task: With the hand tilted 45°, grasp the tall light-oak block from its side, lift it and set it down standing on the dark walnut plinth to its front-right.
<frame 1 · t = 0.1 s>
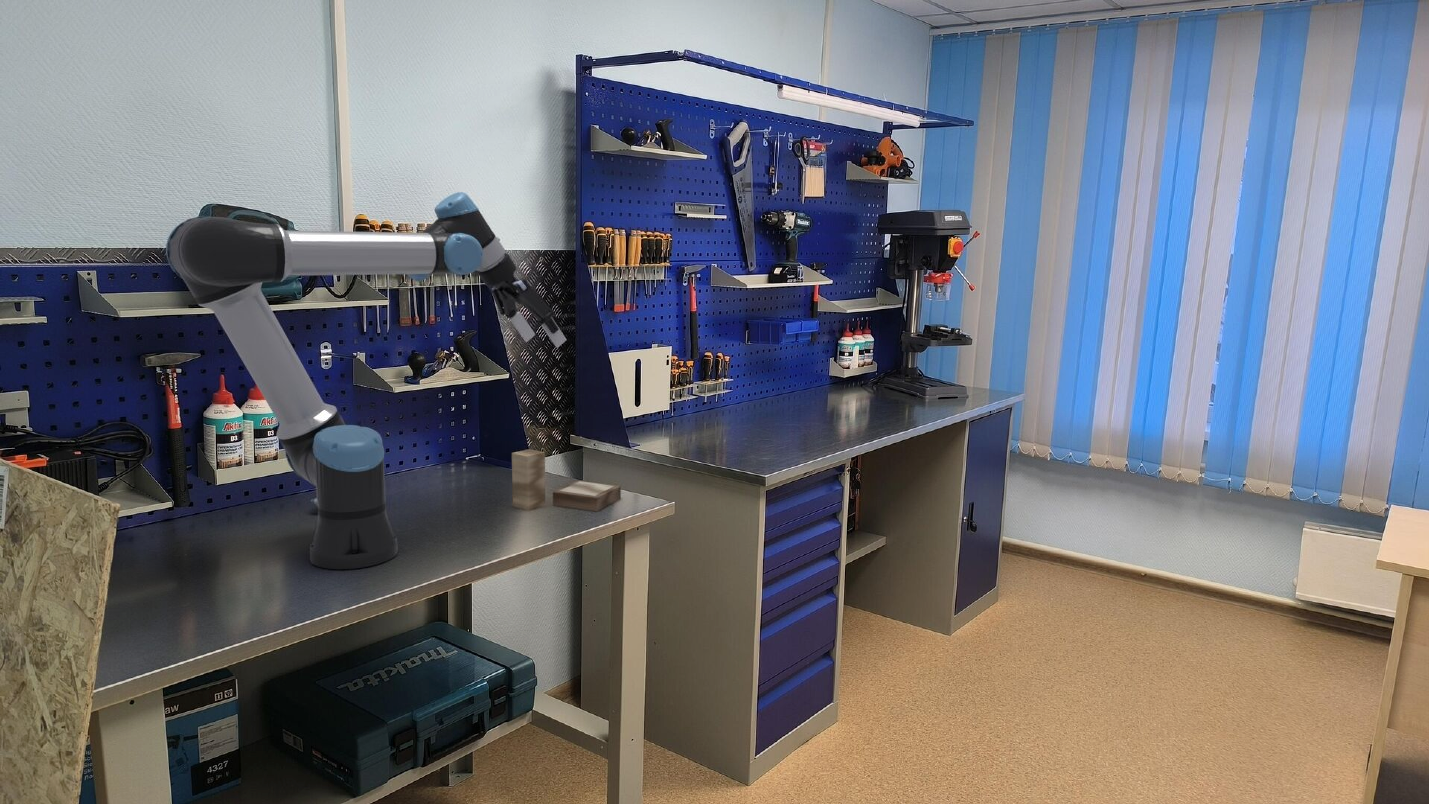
hand: (545, 340, 206), 36 cm above the workbench, tool tilted 35°, fingers open, 13 cm apart
oak block: (529, 505, 206), on the workbench
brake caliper: (341, 509, 202), on the workbench
plinth: (587, 502, 210), on the workbench
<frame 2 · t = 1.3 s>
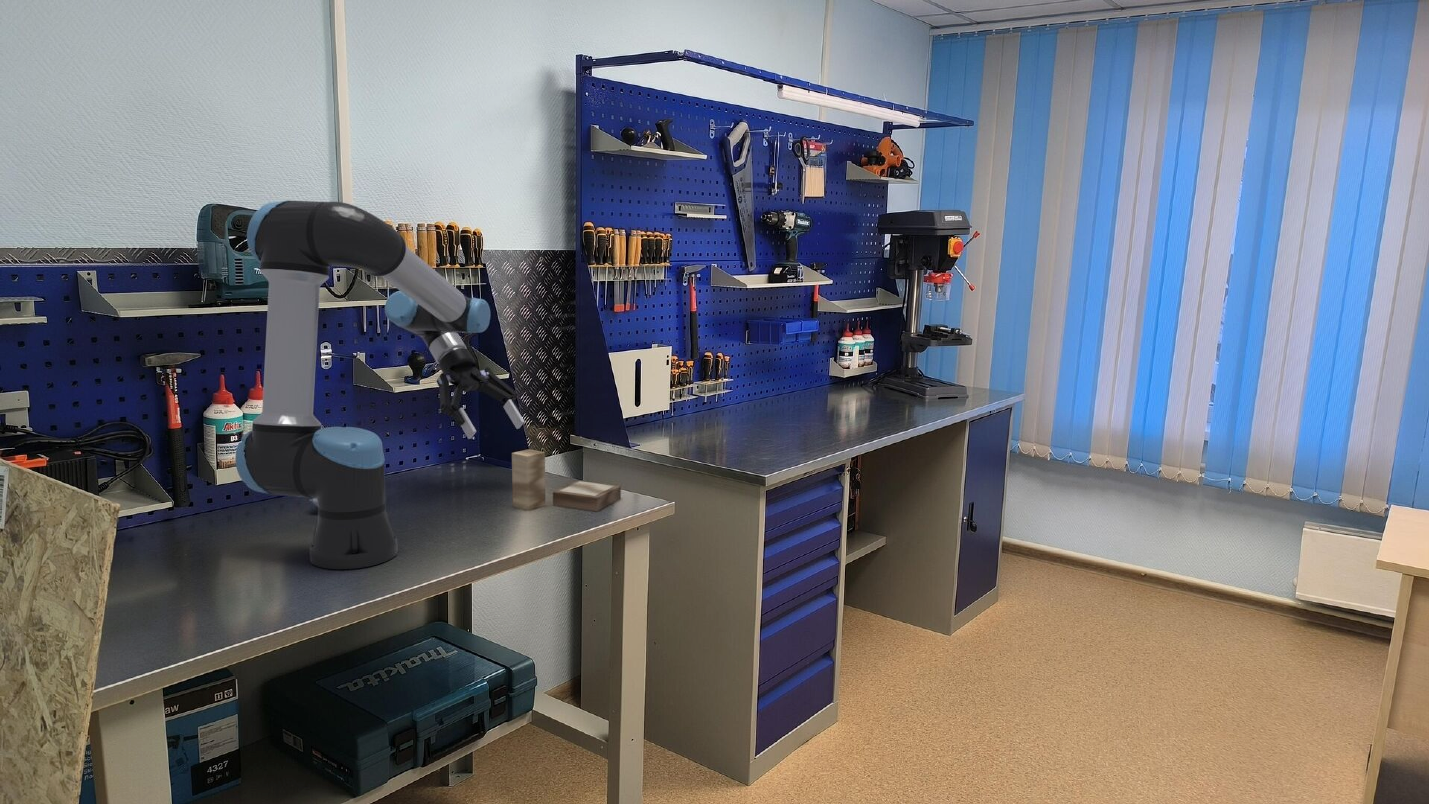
hand: (497, 430, 210), 16 cm above the workbench, tool tilted 45°, fingers open, 13 cm apart
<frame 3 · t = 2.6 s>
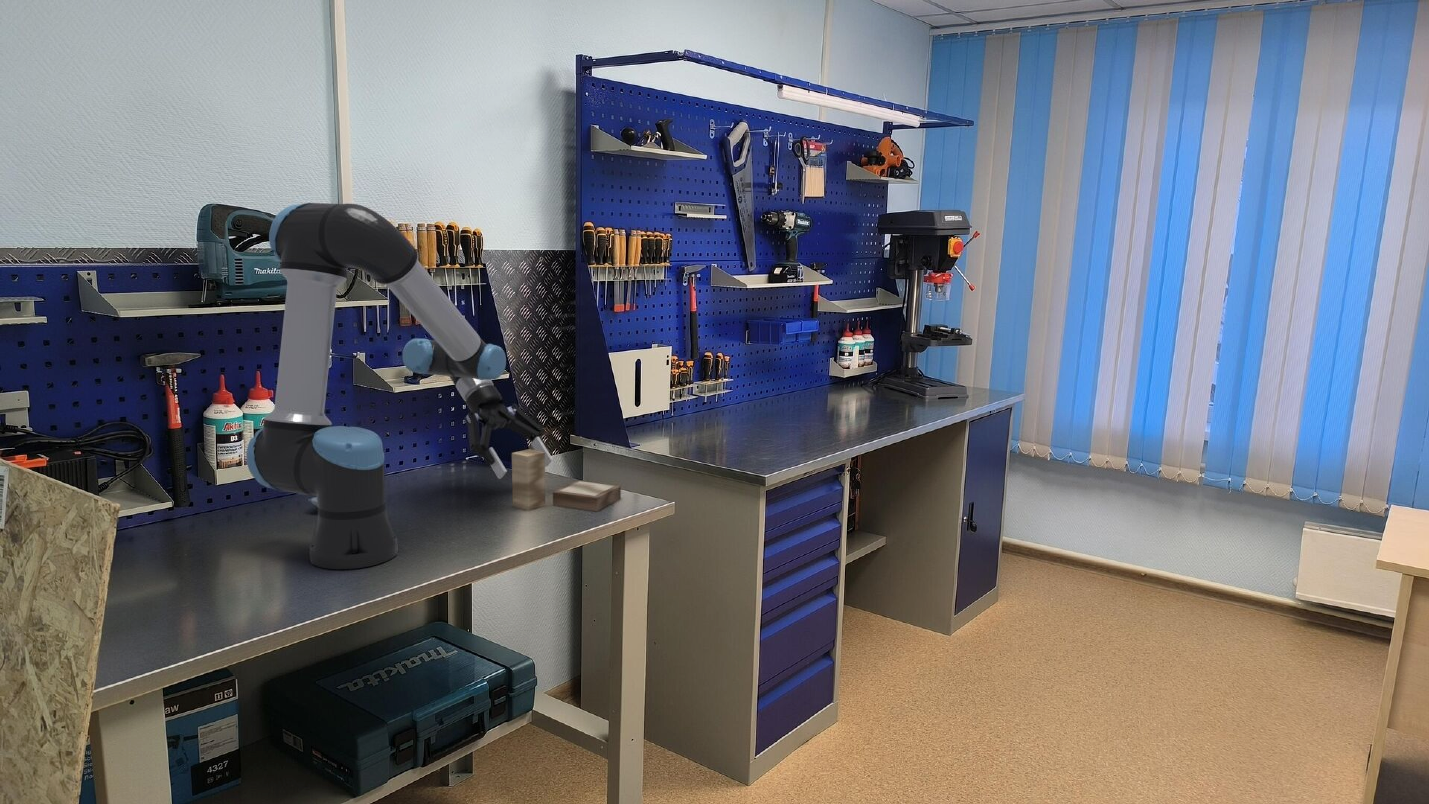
hand: (526, 469, 207), 8 cm above the workbench, tool tilted 45°, fingers open, 13 cm apart
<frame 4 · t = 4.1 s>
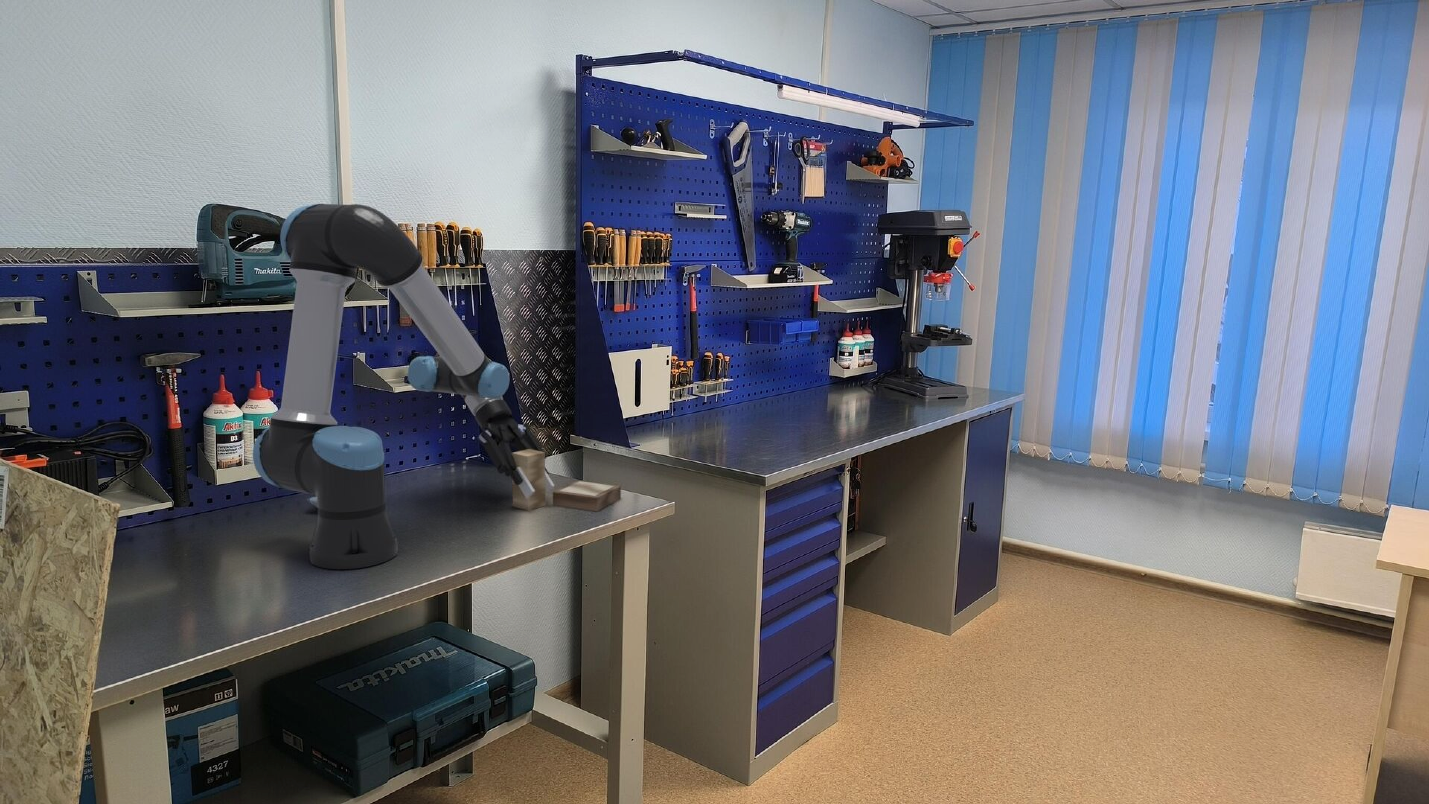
hand: (540, 492, 203), 4 cm above the workbench, tool tilted 45°, fingers closed on oak block, 5 cm apart
oak block: (529, 505, 206), on the workbench, touching gripper
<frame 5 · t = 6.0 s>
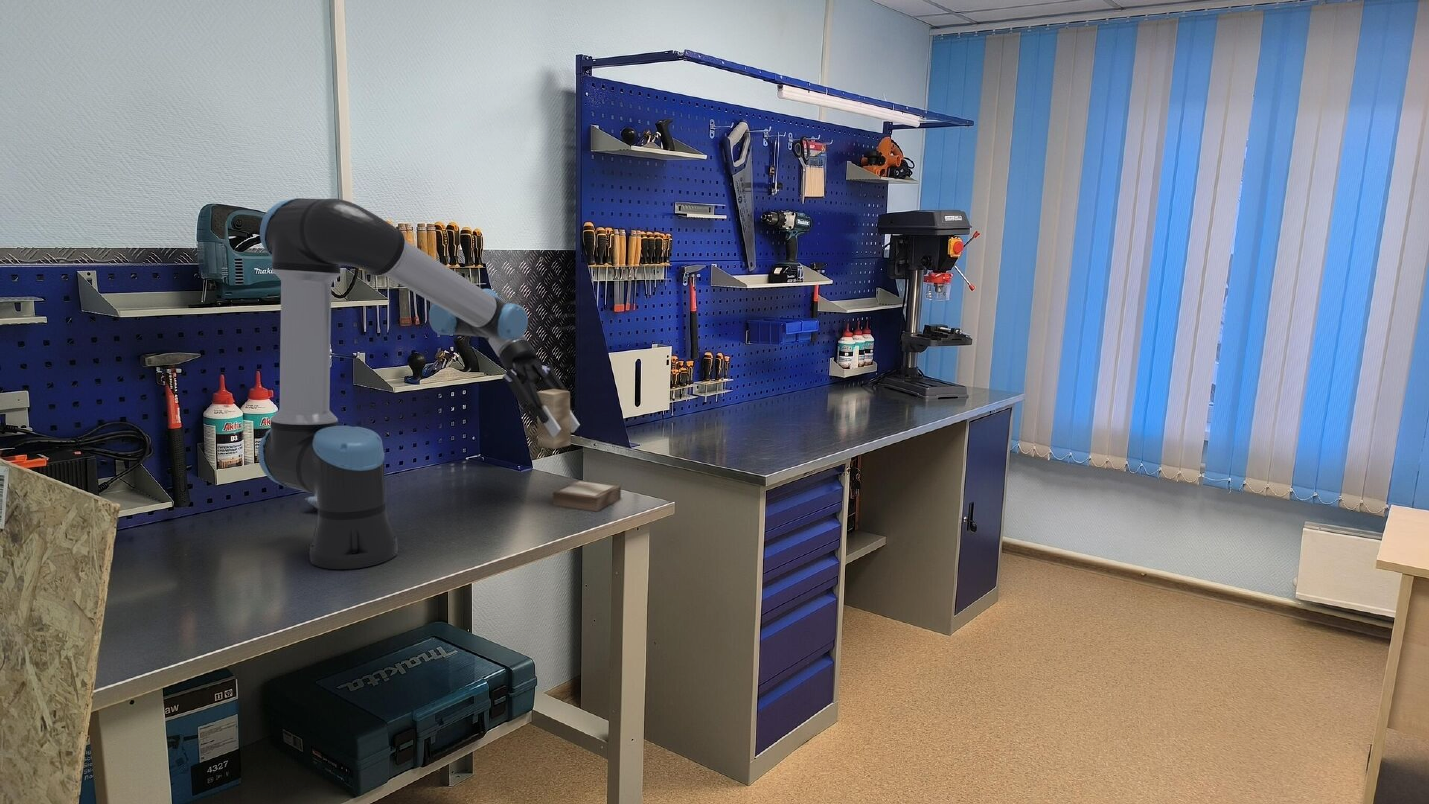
hand: (566, 430, 204), 17 cm above the workbench, tool tilted 45°, fingers closed on oak block, 5 cm apart
oak block: (554, 445, 207), point 13 cm above the workbench, touching gripper
when the fingers open (8 cm above the workbench, at t = 8.3 s): oak block stays where it is, resting on plinth.
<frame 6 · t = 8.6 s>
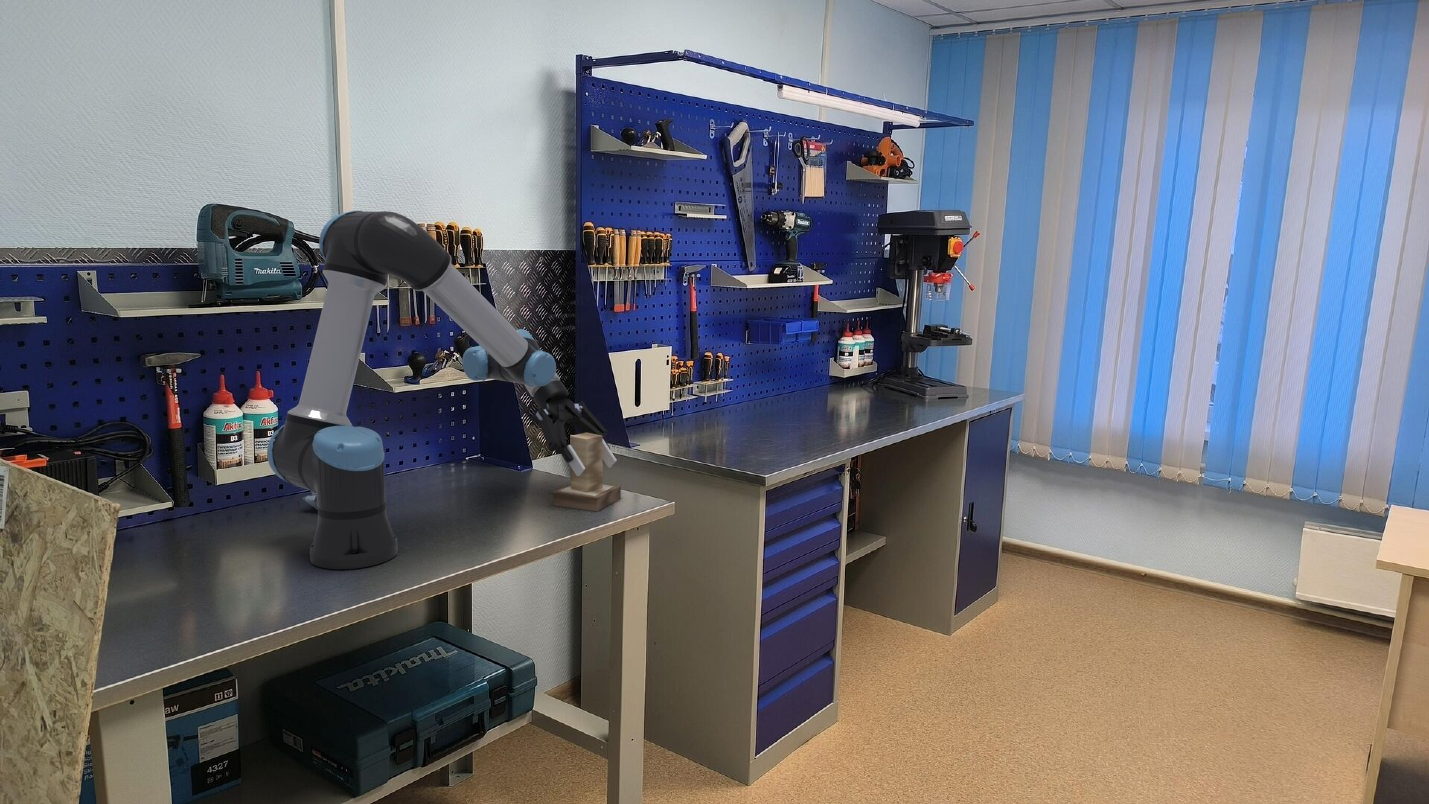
hand: (597, 468, 207), 8 cm above the workbench, tool tilted 45°, fingers open, 9 cm apart
oak block: (586, 488, 209), point 3 cm above the workbench, touching plinth
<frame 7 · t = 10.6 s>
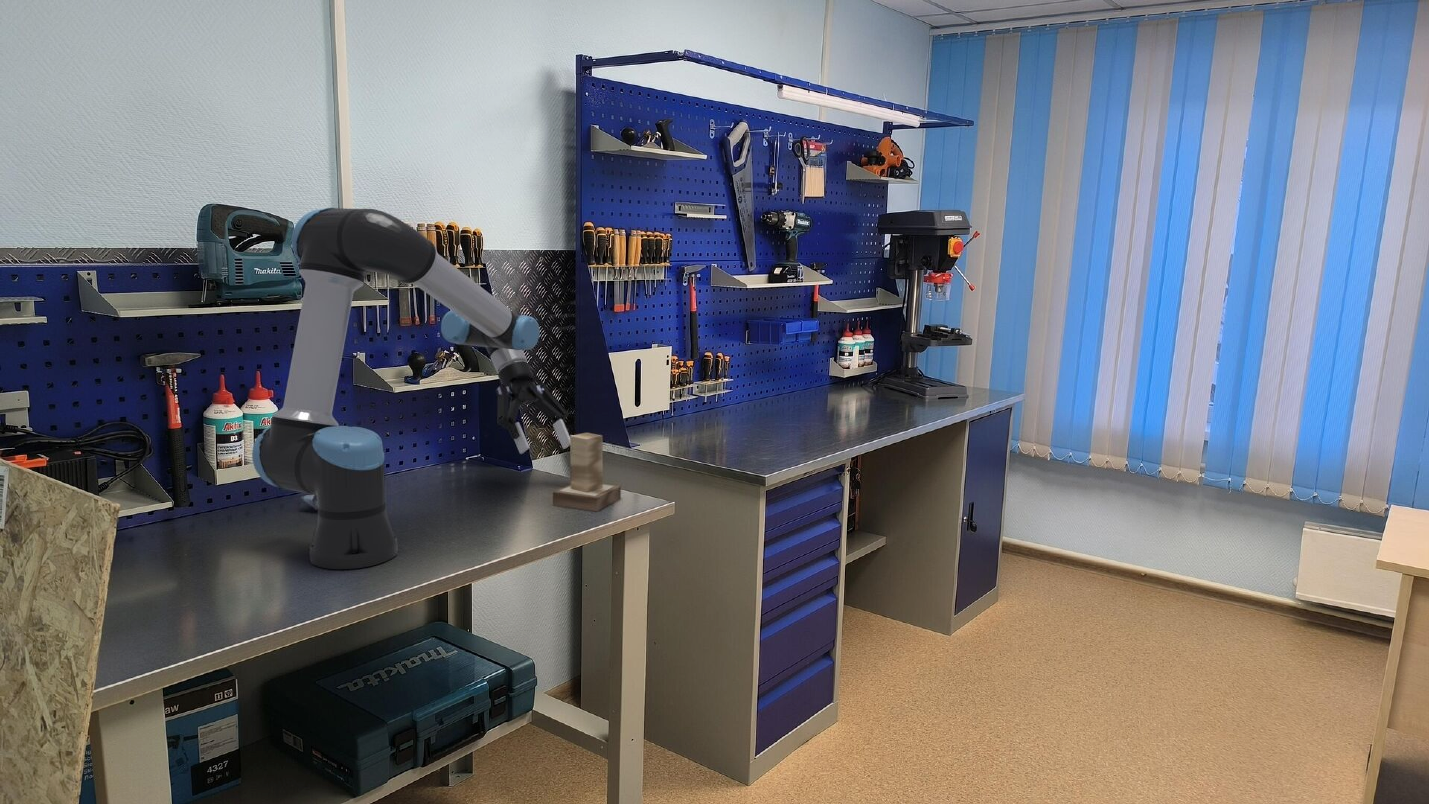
hand: (547, 448, 213), 11 cm above the workbench, tool tilted 35°, fingers open, 13 cm apart
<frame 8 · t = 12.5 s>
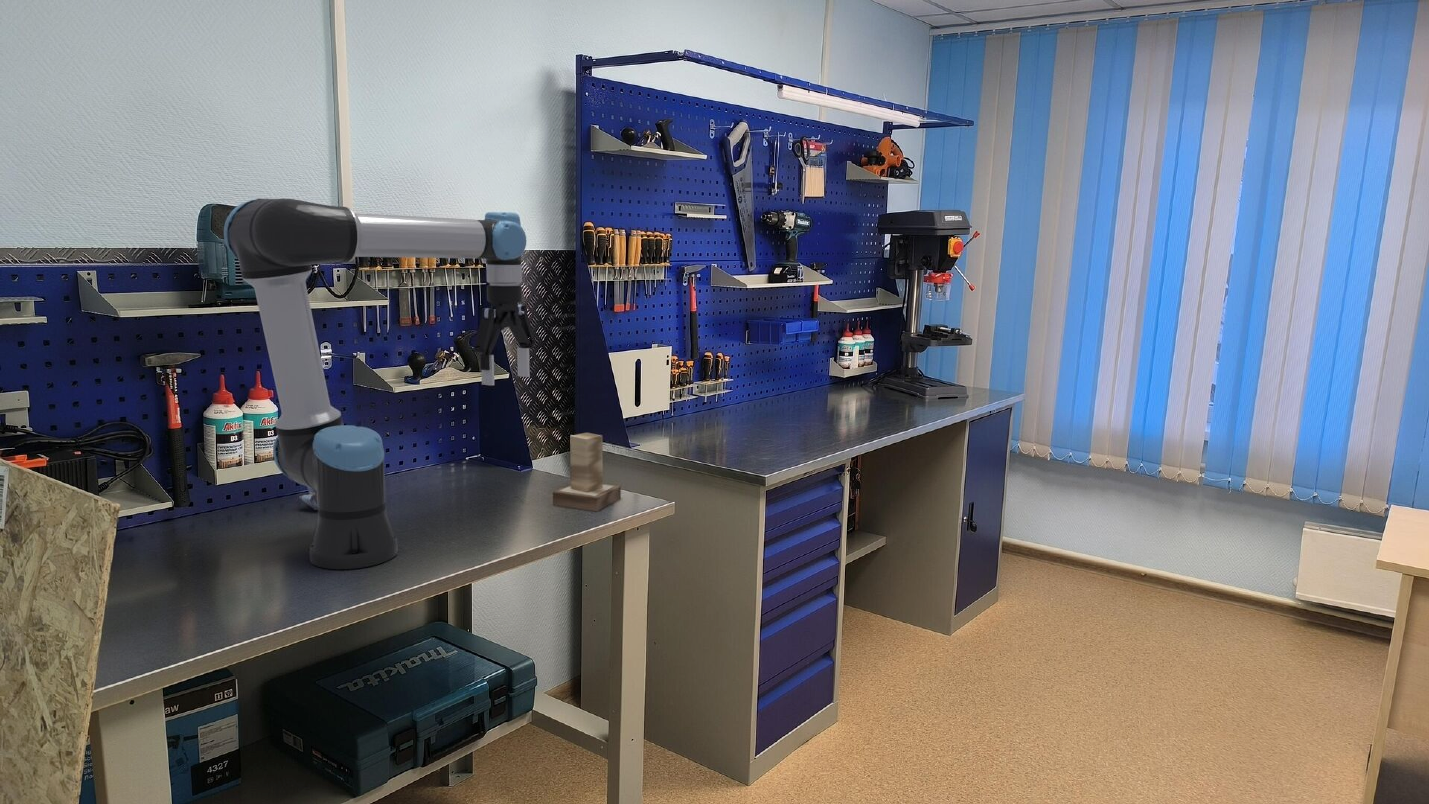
hand: (506, 380, 208), 27 cm above the workbench, tool pointing down, fingers open, 13 cm apart
at the end: oak block inside the target area on the plinth (0.1 cm from its centre), point 3.1 cm above the plinth's base; oak block tilted 0°; the gripper is holding nothing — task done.
